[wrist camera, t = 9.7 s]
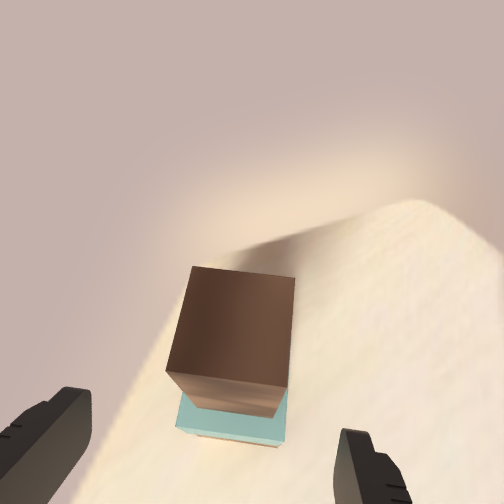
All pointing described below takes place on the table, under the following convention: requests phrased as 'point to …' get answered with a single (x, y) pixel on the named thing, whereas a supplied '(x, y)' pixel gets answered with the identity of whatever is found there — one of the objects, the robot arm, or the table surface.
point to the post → (234, 341)
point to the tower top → (233, 423)
